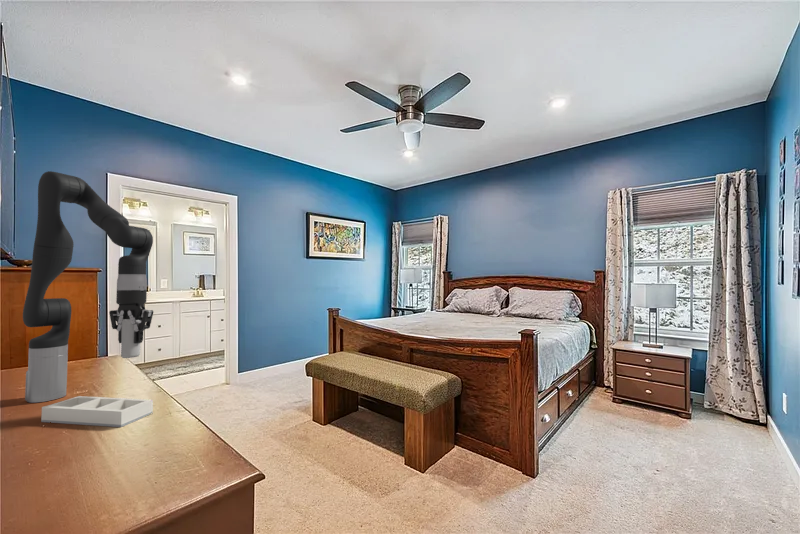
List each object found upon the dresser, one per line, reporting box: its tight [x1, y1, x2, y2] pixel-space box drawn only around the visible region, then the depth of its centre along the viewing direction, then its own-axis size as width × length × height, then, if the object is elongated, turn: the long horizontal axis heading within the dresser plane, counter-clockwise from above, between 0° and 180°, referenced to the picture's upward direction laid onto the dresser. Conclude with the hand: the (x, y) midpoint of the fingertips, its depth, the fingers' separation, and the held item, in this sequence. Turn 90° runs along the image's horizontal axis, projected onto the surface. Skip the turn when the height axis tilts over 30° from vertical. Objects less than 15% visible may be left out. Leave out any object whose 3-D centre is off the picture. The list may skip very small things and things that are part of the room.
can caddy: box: [40, 395, 154, 428], centre depth 97 cm, size 26×9×4 cm, turn 81°
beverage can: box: [120, 319, 141, 359], centre depth 108 cm, size 5×5×12 cm
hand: (130, 342), depth 108 cm, fingers closed on beverage can, 5 cm apart
